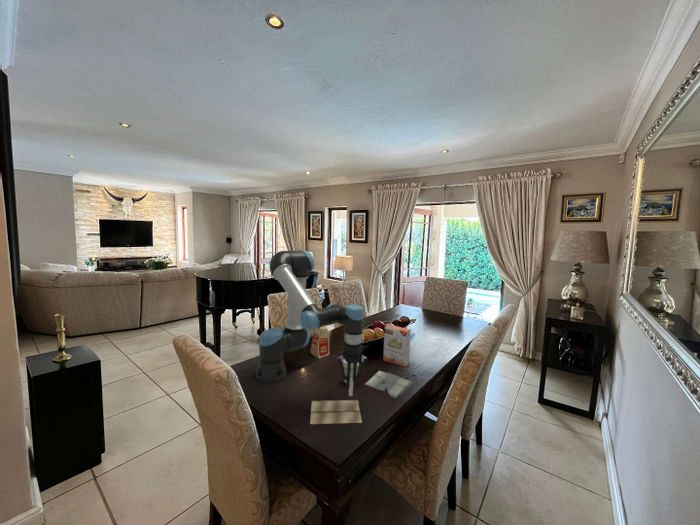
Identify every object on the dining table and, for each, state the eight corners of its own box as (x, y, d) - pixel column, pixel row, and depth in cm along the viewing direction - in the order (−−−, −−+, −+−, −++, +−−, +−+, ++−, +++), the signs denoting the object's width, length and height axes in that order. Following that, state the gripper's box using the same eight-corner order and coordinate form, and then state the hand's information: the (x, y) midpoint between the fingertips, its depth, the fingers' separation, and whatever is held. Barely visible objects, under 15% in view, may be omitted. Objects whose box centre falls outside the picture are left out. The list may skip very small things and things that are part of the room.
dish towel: (396, 401, 130) (396, 394, 130) (362, 388, 141) (363, 381, 140) (412, 384, 145) (413, 378, 145) (381, 373, 156) (381, 368, 155)
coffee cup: (345, 389, 138) (345, 365, 136) (338, 381, 145) (339, 358, 144) (361, 386, 141) (362, 362, 140) (354, 378, 149) (354, 355, 148)
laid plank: (309, 427, 110) (310, 423, 110) (310, 415, 118) (310, 411, 117) (361, 426, 112) (362, 422, 112) (359, 414, 119) (359, 410, 119)
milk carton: (318, 358, 171) (319, 325, 169) (310, 353, 178) (310, 321, 176) (330, 354, 177) (331, 322, 175) (322, 349, 184) (322, 319, 182)
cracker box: (382, 361, 170) (384, 326, 168) (387, 357, 175) (389, 324, 173) (404, 367, 162) (406, 331, 160) (409, 364, 167) (410, 329, 165)
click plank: (310, 414, 118) (310, 411, 118) (311, 404, 125) (311, 400, 125) (359, 413, 120) (359, 410, 119) (357, 403, 127) (357, 399, 127)
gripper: (338, 345, 118) (335, 399, 120) (369, 345, 119) (366, 399, 122) (337, 338, 125) (335, 389, 128) (367, 338, 126) (364, 389, 129)
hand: (350, 394), depth 125 cm, fingers closed
